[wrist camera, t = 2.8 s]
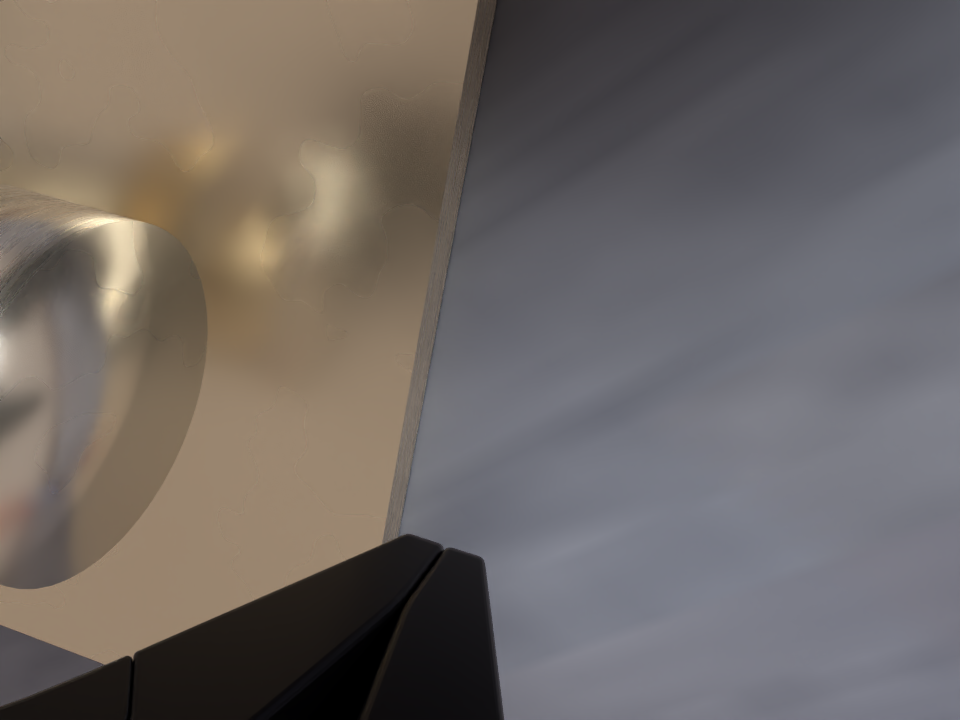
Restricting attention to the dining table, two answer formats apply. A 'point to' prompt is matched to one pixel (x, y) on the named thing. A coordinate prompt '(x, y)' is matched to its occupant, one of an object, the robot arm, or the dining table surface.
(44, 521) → the shaft
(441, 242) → the bearing block
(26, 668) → the dining table surface
